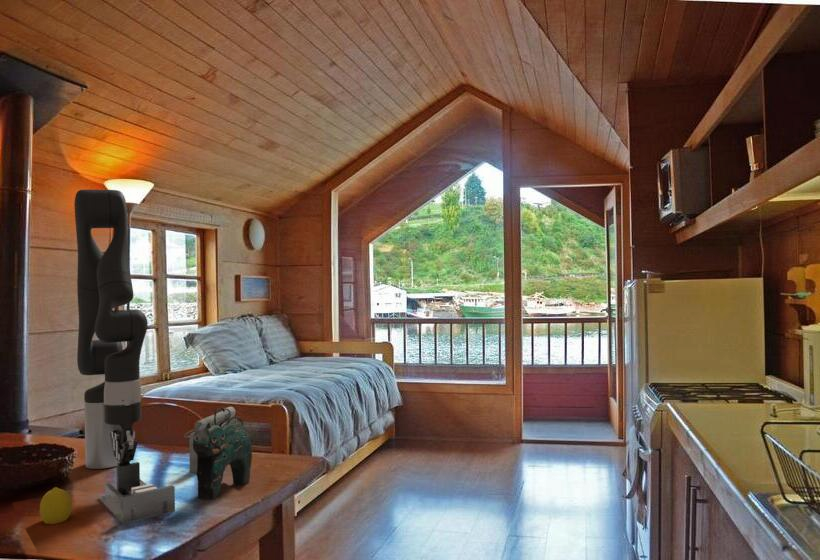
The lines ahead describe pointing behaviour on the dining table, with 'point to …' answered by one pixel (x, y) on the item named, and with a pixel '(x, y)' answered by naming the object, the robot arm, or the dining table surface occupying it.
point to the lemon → (55, 506)
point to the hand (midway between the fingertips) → (124, 478)
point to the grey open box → (139, 502)
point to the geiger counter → (219, 418)
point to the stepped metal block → (128, 477)
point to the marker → (142, 488)
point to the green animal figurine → (221, 455)
